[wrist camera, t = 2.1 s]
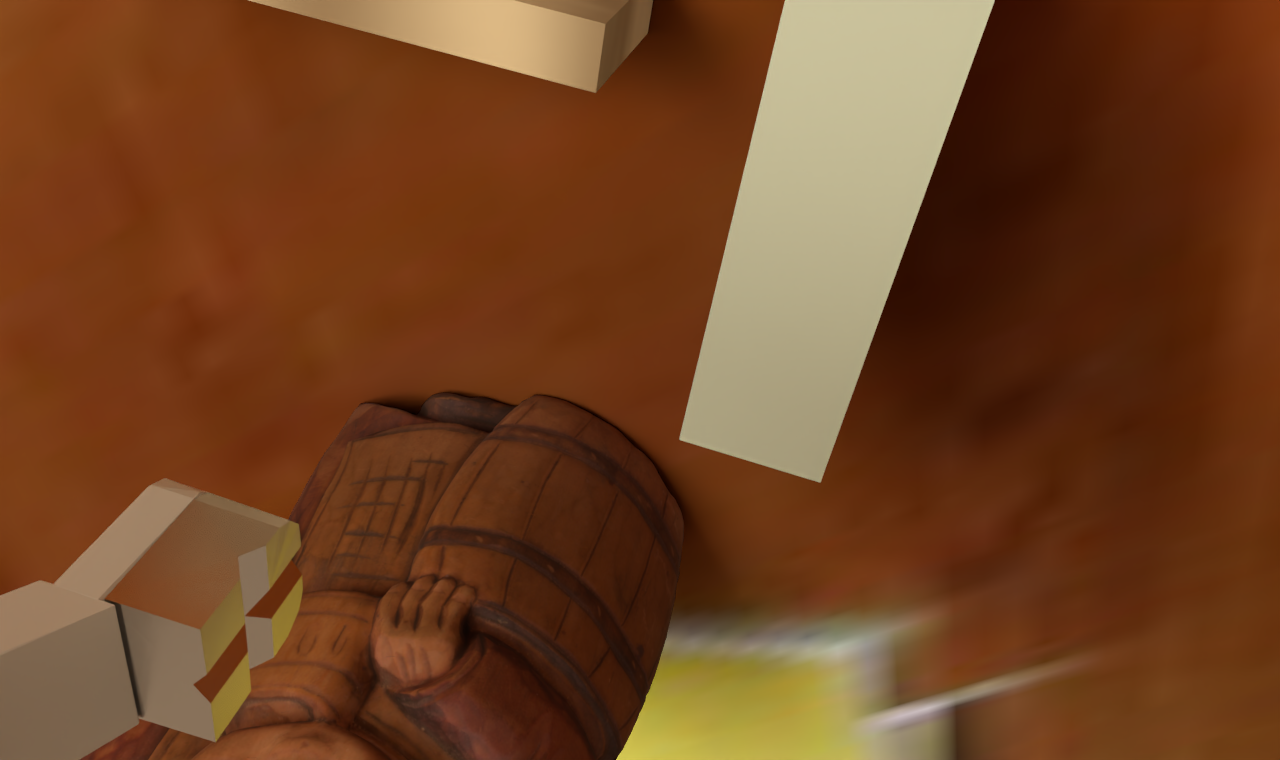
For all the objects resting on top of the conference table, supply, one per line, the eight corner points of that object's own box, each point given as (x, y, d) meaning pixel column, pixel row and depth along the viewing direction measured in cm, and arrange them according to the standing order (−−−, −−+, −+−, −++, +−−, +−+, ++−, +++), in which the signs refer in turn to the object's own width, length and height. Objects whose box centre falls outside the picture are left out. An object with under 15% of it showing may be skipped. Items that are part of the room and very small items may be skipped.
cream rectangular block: (998, -107, 21) (999, -13, 15) (856, 309, 27) (820, 482, 21) (850, -140, 21) (799, -62, 16) (742, 277, 27) (679, 439, 22)
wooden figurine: (685, 399, 30) (406, 1089, 16) (702, 564, 33) (488, 1250, 19) (322, 375, 33) (-179, 926, 19) (372, 527, 37) (-20, 1088, 23)
